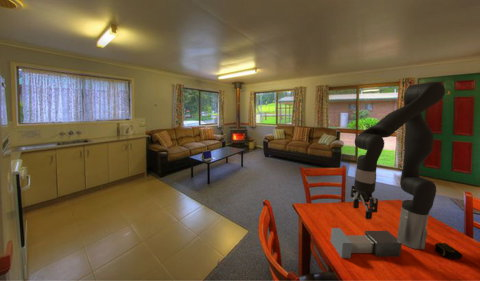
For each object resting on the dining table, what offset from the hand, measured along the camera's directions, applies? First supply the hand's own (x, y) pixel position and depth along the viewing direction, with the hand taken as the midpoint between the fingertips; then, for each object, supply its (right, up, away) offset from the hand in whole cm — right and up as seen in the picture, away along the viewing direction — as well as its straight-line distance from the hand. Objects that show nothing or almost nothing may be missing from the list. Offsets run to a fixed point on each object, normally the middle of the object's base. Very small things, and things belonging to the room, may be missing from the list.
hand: (361, 213), depth 80 cm
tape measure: (+38, -18, -1) cm, 42 cm away
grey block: (-8, -18, +3) cm, 20 cm away
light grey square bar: (0, -18, +3) cm, 18 cm away
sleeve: (+11, -18, +2) cm, 21 cm away
